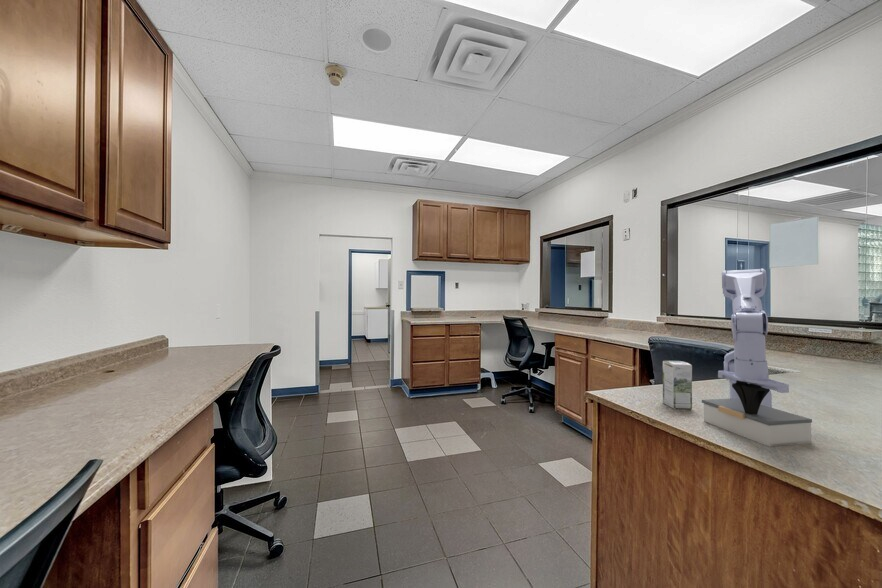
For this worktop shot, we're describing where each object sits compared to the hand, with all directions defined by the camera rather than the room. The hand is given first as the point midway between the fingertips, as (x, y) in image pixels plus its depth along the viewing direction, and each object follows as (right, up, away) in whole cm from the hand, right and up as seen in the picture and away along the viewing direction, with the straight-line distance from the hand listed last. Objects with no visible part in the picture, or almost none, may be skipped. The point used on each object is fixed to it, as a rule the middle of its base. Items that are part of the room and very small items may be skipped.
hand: (751, 413), depth 79 cm
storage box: (+4, -6, +4) cm, 8 cm away
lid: (+4, -2, +4) cm, 5 cm away
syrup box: (-1, -7, +23) cm, 24 cm away
